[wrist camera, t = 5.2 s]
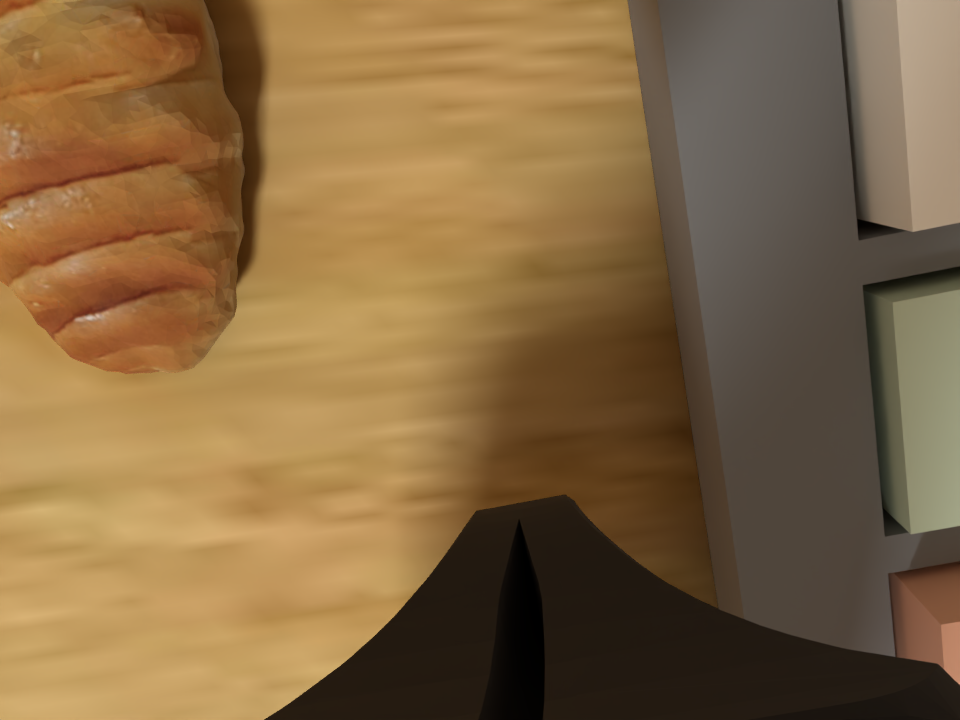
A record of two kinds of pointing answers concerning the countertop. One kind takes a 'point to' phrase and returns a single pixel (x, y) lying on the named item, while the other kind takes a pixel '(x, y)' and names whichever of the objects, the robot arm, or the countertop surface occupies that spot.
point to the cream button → (903, 109)
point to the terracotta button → (927, 615)
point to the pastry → (119, 178)
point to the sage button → (917, 395)
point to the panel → (778, 311)
